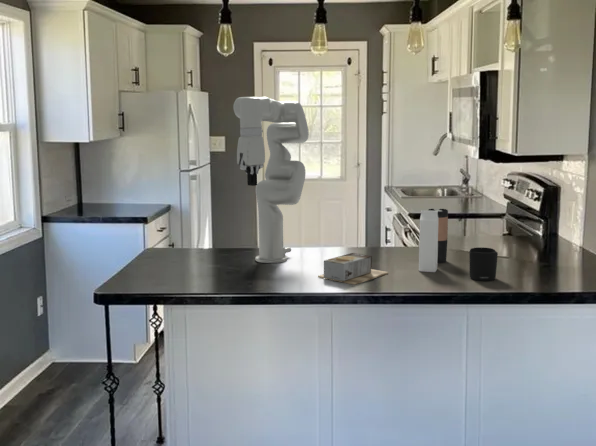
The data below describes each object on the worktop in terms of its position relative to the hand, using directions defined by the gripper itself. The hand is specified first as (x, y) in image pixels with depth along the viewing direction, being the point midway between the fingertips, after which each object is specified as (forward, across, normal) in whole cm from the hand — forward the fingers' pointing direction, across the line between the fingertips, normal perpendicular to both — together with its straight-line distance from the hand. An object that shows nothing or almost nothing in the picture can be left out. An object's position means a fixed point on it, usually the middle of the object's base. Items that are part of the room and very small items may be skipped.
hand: (252, 185), depth 242 cm
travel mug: (+32, -58, +41) cm, 79 cm away
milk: (+32, -43, +46) cm, 71 cm away
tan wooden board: (+32, -20, +30) cm, 48 cm away
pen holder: (+32, -44, +67) cm, 87 cm away
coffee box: (+28, -8, +30) cm, 42 cm away
